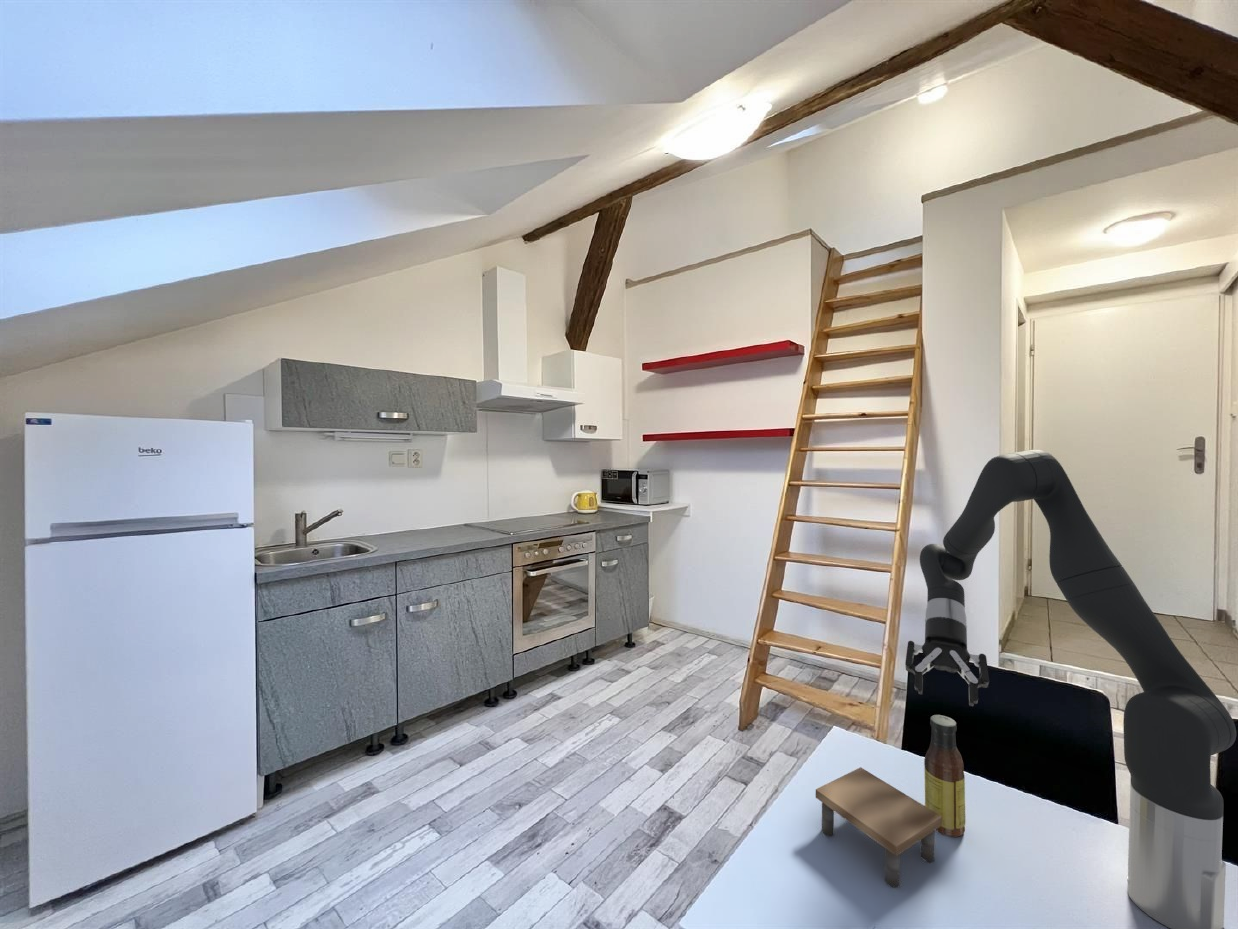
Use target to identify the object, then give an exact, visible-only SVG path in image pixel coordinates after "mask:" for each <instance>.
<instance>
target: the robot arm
mask: <svg viewBox="0 0 1238 929" xmlns="http://www.w3.org/2000/svg"><path fill="white" fill-rule="evenodd" d="M1030 500H1031V501H1032V500H1034V502H1035V503H1036V505H1037V506H1038V508H1039V509H1040V511H1041V513H1042V515H1043V516H1044V518H1045V520H1046V522H1047V525H1048V527H1049V528H1048V529H1049V534H1050V536H1049V537H1050V539H1049V555H1048V556H1049V557H1048V558H1049V560H1048V561H1049V569H1050V574H1051V575H1052V578H1053V579H1054V582H1055V583H1056V585H1057V587H1058V589H1059V591H1060V592H1061V593H1062V595H1063V597H1064V598H1065V599H1066V600H1065V601H1067V603H1068V604H1069V606H1070V608H1071V609H1072V610H1073V612H1074V613H1075V615H1077V616H1078V617H1079V618H1080V619H1081V620H1082V621H1083V623H1085V624H1086V625H1087V626H1088V627H1090V628H1091V629H1092V630H1093V631H1094V632H1095V633H1097V634H1098V635H1099V636H1100V637H1101V638H1102V639H1103V640H1105V641H1106V642H1107V643H1108V644H1109V645H1110V646H1111V647H1112V648H1114V650H1115V651H1116V652H1117V653H1118V654H1119V655H1120V656H1121V657H1122V659H1123V660H1124V661H1125V663H1126V664H1127V666H1128V667H1129V669H1130V670H1131V672H1132V674H1133V676H1134V677H1135V678H1136V680H1137V682H1138V683H1139V685H1140V688H1142V692H1139V693H1137V694H1135V695H1133V696H1131V697H1130V698H1129V699H1128V701H1127V702H1126V703H1125V704H1126V705H1125V707H1124V712H1123V725H1122V726H1123V727H1122V728H1123V757H1124V763H1125V765H1126V768H1127V769H1128V772H1129V774H1130V786H1129V787H1130V788H1129V816H1128V817H1129V819H1128V820H1129V822H1128V823H1129V824H1128V827H1129V828H1128V851H1127V852H1128V854H1127V856H1128V858H1127V860H1128V861H1127V875H1126V879H1127V894H1128V896H1129V898H1130V899H1131V900H1132V902H1133V903H1134V905H1136V906H1137V907H1138V908H1139V909H1140V910H1141V911H1143V912H1144V914H1146V915H1147V916H1149V917H1150V918H1151V919H1154V920H1155V921H1157V922H1158V923H1159V924H1162V925H1163V926H1165V927H1166V928H1169V929H1223V928H1224V927H1225V904H1226V903H1225V902H1226V901H1225V900H1226V898H1225V897H1226V875H1227V874H1226V870H1227V869H1226V868H1227V865H1226V862H1225V861H1224V860H1222V858H1223V857H1222V853H1223V852H1222V850H1223V828H1224V827H1223V825H1224V824H1223V823H1224V798H1223V796H1222V793H1221V792H1220V791H1219V789H1218V788H1216V787H1215V786H1214V785H1213V784H1212V782H1211V778H1212V776H1211V775H1212V774H1211V759H1212V758H1211V757H1212V756H1214V755H1217V754H1219V753H1222V752H1224V751H1227V750H1229V748H1231V747H1232V746H1233V745H1234V743H1235V742H1236V739H1237V729H1236V724H1235V722H1234V719H1233V717H1232V716H1231V713H1229V711H1228V709H1227V708H1226V706H1224V704H1223V703H1222V702H1221V700H1220V699H1219V698H1218V697H1217V695H1216V694H1215V693H1214V691H1212V689H1211V688H1210V687H1209V685H1207V683H1206V682H1205V681H1204V680H1203V678H1201V676H1200V675H1199V674H1198V672H1197V671H1196V670H1195V668H1194V667H1193V666H1192V665H1191V664H1190V662H1189V661H1188V660H1187V659H1186V658H1185V656H1184V655H1183V654H1182V653H1181V651H1180V650H1179V648H1177V646H1176V644H1175V643H1174V641H1173V640H1172V639H1171V637H1170V636H1169V634H1168V632H1167V631H1166V629H1165V627H1164V626H1163V625H1162V623H1161V622H1160V620H1159V618H1158V617H1157V616H1156V614H1155V613H1154V611H1153V610H1152V609H1151V608H1150V606H1149V604H1148V603H1147V601H1146V600H1145V599H1144V597H1143V595H1142V594H1141V592H1140V590H1139V589H1138V587H1137V586H1136V584H1135V582H1134V581H1133V579H1132V578H1131V577H1130V575H1129V574H1128V572H1127V571H1126V569H1125V567H1124V566H1123V565H1122V563H1121V561H1119V559H1118V558H1117V557H1116V555H1115V554H1114V552H1112V550H1111V549H1110V547H1109V545H1108V543H1107V542H1106V540H1105V539H1104V538H1103V536H1102V534H1101V533H1100V531H1099V530H1098V528H1097V527H1096V525H1095V523H1094V522H1093V520H1092V518H1091V517H1090V515H1089V514H1088V512H1087V510H1086V509H1085V507H1084V505H1083V503H1082V501H1081V499H1080V497H1079V495H1078V493H1077V491H1076V489H1075V488H1074V485H1073V484H1072V482H1071V480H1070V478H1069V476H1068V474H1067V472H1066V471H1065V469H1064V467H1063V466H1062V464H1061V463H1060V461H1058V459H1057V458H1056V457H1054V455H1052V454H1050V453H1049V452H1047V451H1045V450H1042V449H1028V450H1023V451H1022V450H1021V451H1016V452H1011V453H1010V452H1009V453H1004V454H1000V455H997V456H994V457H992V458H991V459H990V460H988V462H987V463H986V464H985V465H984V467H983V469H982V470H981V471H980V474H979V476H978V478H977V480H976V483H975V484H974V487H973V490H972V491H971V493H970V496H969V498H968V500H967V502H966V505H965V507H964V509H963V510H962V512H961V514H960V515H959V517H958V518H957V520H956V521H955V522H954V523H953V525H952V526H951V527H950V528H949V530H947V532H946V533H945V535H944V537H943V539H942V544H943V545H941V544H938V543H928V544H925V546H924V547H923V548H922V549H921V550H920V554H919V566H920V569H921V571H922V574H923V578H924V580H925V585H926V587H927V598H926V599H927V600H926V601H927V604H926V609H925V619H924V622H925V624H924V626H925V627H924V628H925V629H924V643H923V645H922V644H918V643H915V642H914V641H913V640H909V641H907V647H906V654H905V662H904V663H905V671H907V672H909V673H912V674H913V675H914V690H915V691H917V692H918V695H923V686H924V685H923V682H924V681H923V680H924V678H923V677H924V676H923V675H924V674H926V673H927V672H930V671H931V670H932V669H933V668H934V669H936V670H938V671H946V672H949V673H952V674H955V673H958V674H959V675H960V677H961V678H962V679H964V680H965V682H966V683H967V684H968V706H970V707H974V706H975V705H977V704H978V702H979V688H984V689H986V688H989V683H990V677H989V667H988V661H987V655H986V654H984V653H979V654H970V653H969V650H968V632H967V630H968V629H967V628H968V626H967V623H968V622H967V615H966V608H965V607H966V606H965V604H966V603H965V601H966V600H965V589H964V586H963V585H962V584H961V583H959V582H958V581H964V580H966V579H968V578H969V577H970V576H971V574H972V572H973V568H974V563H975V561H976V558H977V556H978V555H979V553H980V552H981V551H982V549H983V548H985V547H986V545H987V544H988V543H989V542H990V540H991V539H992V537H993V536H994V533H995V531H996V523H995V517H996V515H997V514H998V513H999V512H1000V511H1001V510H1003V509H1004V508H1005V507H1007V506H1008V505H1010V504H1011V503H1013V502H1014V503H1019V502H1023V501H1030ZM919 652H921V653H922V655H923V656H924V658H923V659H922V661H921V662H919V663H918V664H917V665H915V664H914V659H915V658H914V657H915V656H917V655H919ZM970 661H971V662H972V663H973V664H974V666H975V667H977V668H978V670H979V677H976V676H975V675H974V673H973V672H972V671H971V669H970V667H969V666H968V665H967V664H968V663H970Z"/></svg>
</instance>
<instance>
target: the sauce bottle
mask: <svg viewBox="0 0 1238 929" xmlns="http://www.w3.org/2000/svg"><path fill="white" fill-rule="evenodd" d="M929 719H930V722H929V724H930V727H931V737H930V743H929V747H928V749H927V750H926V754H925V756H924V762H923V763H924V764H923V766H924V770H923V771H924V806H926V807H927V808H929V809H931V810H932V811H934V812H936V813H937V814H939V815H940V816H942V826H940V827H939V828H937V829H936V830H935V831H936V832H938V833H939V834H942V835H945V836H950V837H955V838H957V837H961V836H963V834H965V830H966V827H965V826H966V786H965V784H966V782H965V777H966V776H965V773H964V772H965V769H964V768H965V766H964V761H963V757H962V754H961V753H960V751H959V749H958V747H957V743H956V741H957V740H956V732H957V729H958V728H957V727H958V726H957V722H956V721H955V720H954V719H953V718H951V717H949V716H946V715H941V714H934V715H932V716H930V718H929Z"/></svg>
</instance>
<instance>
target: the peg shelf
mask: <svg viewBox="0 0 1238 929" xmlns="http://www.w3.org/2000/svg"><path fill="white" fill-rule="evenodd" d="M815 799H817V800H819V801H820V802H821V834H823V835H824V836H826V837H829V838H830V837H833V836H834V835H835V834H834V833H835V832H834V829H835V827H834V826H835V823H834V822H835V813H836V814H838V815H839V816H840V817H842V818H843V819H844V820H846V821H847V822H849V823H850V824H851V825H852V826H853V827H855V828H857V829H858V830H860V832H862V833H863V834H865V835H867V836H868V837H869V838H871V839H872V840H873V841H875V842H876V843H877V844H879V845H880V846H881V847H883V848H884V850H885V853H884V854H885V855H884V857H885V858H884V862H885V863H884V882H885V884H887V886H888V887H890V888H893V889H897V888H899V887H900V865H901V864H900V863H901V862H900V859H901V858H900V856H901V853H904V851H906V850H908V849H910V848H911V847H912V846H914V845H915V844H916V843H918V842H920V857H921V859H922V860H924V861H925V862H926V863H927V862H928V863H934V862H935V844H936V843H935V839H936V838H935V837H936V836H935V835H936V834H935V833H936V832H935V831H936V829H937V828H939V827H940V826H942V816H940V815H939V814H937V813H936V812H934V811H932V810H931V809H929V808H927V807H926V806H925V804H922V803H920V802H919V801H918V800H915V799H914V798H913V797H911V796H909V795H907V794H906V793H904V792H902V791H901V790H900V789H897V788H896V787H894V786H892V785H891V784H890V783H887V782H886V781H884V780H882V778H879V777H877V776H876V775H874V774H873V773H871V772H869V771H868V770H866V769H865V768H863V767H862V766H861V767H859V768H856V769H854V770H852V771H850V772H848V773H846V774H844V775H842V776H840V777H838V778H836V779H834V780H831V781H830V782H828V783H826V784H824V785H821V786H820V787H818V788H816V789H815Z"/></svg>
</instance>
